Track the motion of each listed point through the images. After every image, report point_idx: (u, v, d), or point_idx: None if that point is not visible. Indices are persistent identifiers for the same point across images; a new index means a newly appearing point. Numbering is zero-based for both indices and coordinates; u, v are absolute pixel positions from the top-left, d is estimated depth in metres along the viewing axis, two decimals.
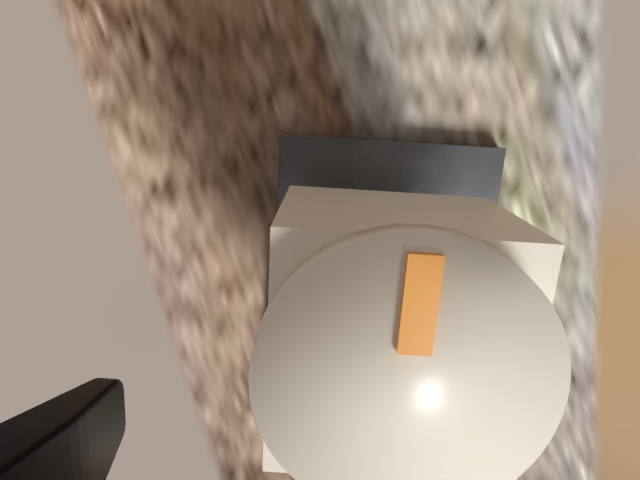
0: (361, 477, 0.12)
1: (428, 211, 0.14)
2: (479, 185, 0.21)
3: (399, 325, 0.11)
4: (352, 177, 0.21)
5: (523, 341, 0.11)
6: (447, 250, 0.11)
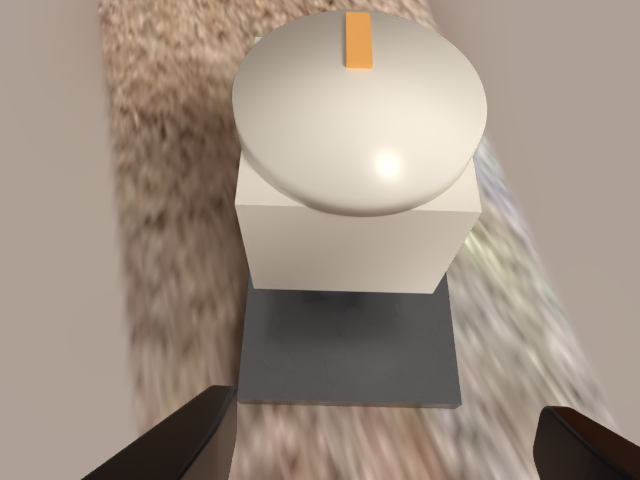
0: (328, 159, 0.13)
1: None
2: None
3: (346, 48, 0.15)
4: None
5: (437, 61, 0.15)
6: (371, 16, 0.16)
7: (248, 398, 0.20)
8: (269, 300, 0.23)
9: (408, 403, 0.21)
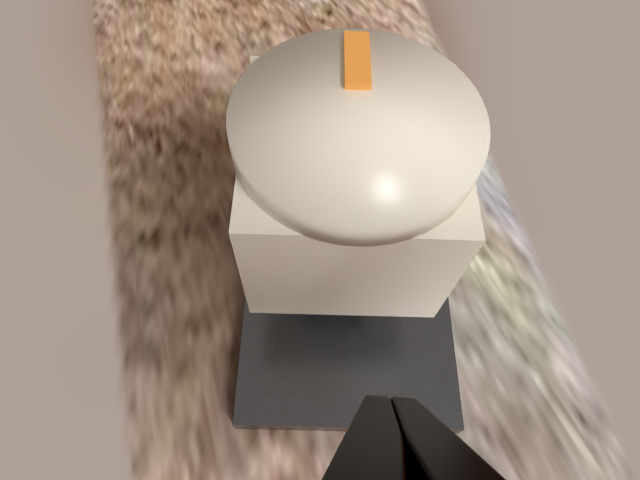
0: (326, 187, 0.13)
1: None
2: None
3: (344, 68, 0.15)
4: None
5: (439, 82, 0.15)
6: (370, 35, 0.16)
7: (244, 424, 0.20)
8: (266, 321, 0.22)
9: None
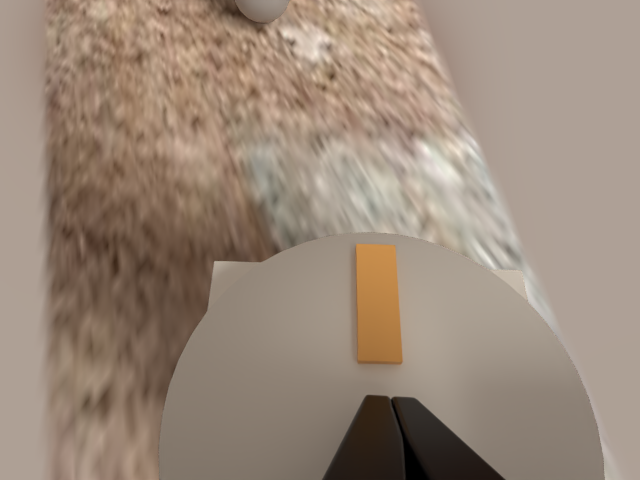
0: None
1: None
2: None
3: (357, 323, 0.09)
4: None
5: (509, 345, 0.09)
6: (397, 247, 0.10)
7: None
8: None
9: None
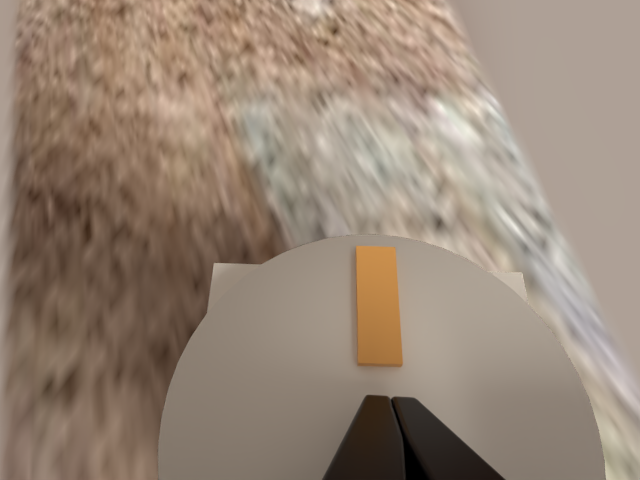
0: None
1: None
2: None
3: (357, 326, 0.09)
4: None
5: (510, 348, 0.09)
6: (397, 249, 0.10)
7: None
8: None
9: None
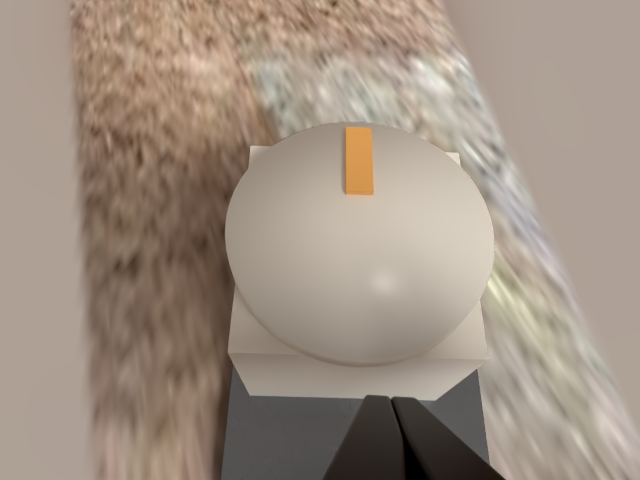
0: (326, 310, 0.12)
1: None
2: None
3: (345, 171, 0.14)
4: None
5: (442, 186, 0.14)
6: (373, 130, 0.15)
7: None
8: None
9: None
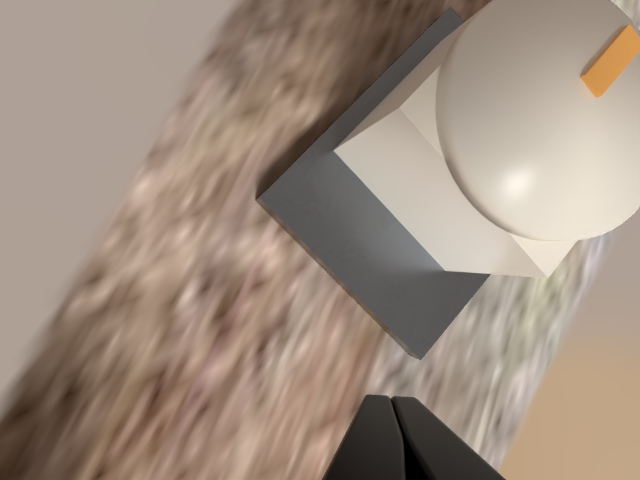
0: (497, 146, 0.13)
1: None
2: None
3: (597, 60, 0.14)
4: None
5: None
6: None
7: (268, 206, 0.19)
8: None
9: (384, 323, 0.20)
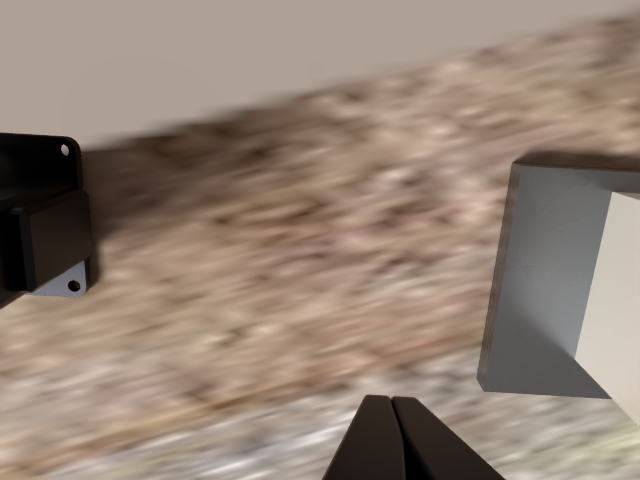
0: None
1: None
2: None
3: None
4: None
5: None
6: None
7: (520, 179, 0.18)
8: None
9: (490, 342, 0.20)
